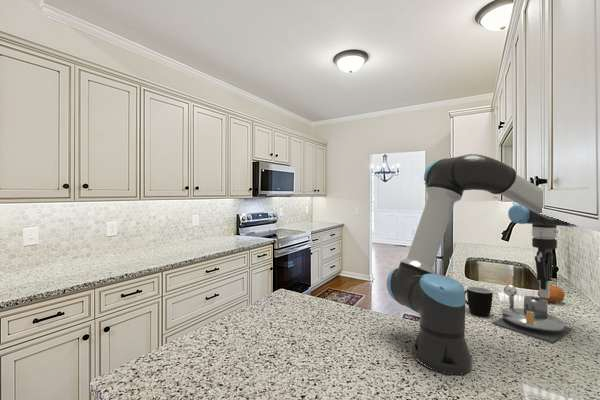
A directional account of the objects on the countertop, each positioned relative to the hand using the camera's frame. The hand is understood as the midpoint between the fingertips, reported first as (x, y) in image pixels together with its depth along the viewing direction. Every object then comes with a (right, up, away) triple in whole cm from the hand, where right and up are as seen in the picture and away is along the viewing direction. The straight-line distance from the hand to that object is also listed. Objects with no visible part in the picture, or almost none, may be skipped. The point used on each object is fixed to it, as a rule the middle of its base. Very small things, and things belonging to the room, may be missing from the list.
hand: (544, 297), depth 114 cm
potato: (+21, -10, +21) cm, 32 cm away
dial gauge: (-8, -9, +6) cm, 14 cm away
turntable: (-11, -6, -7) cm, 15 cm away
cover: (-8, -5, -5) cm, 11 cm away
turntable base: (-11, -9, -7) cm, 16 cm away
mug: (-24, -9, +6) cm, 26 cm away
